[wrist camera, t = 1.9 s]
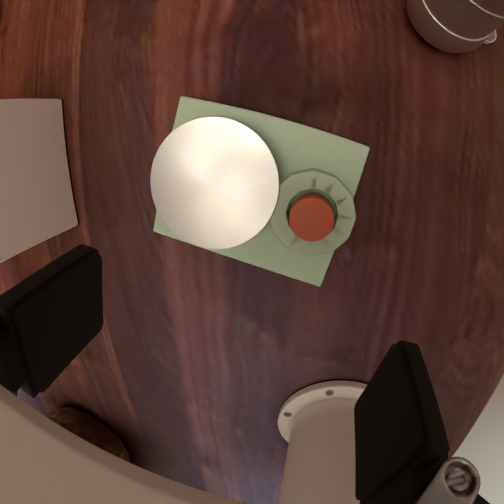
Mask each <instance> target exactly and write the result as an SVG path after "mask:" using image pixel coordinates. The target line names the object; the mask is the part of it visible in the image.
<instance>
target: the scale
mask: <svg viewBox="0 0 504 504" xmlns="http://www.w3.org/2000/svg"><path fill="white" fill-rule="evenodd" d="M207 116H219V117H226V118H230V119H233V120H236V121H239V122H241V123H243V124H245V125H247V126H248V127H250V128H251V129H253V130H254V131H255V132H256V133H257V134H258V135H260V137H261V138H262V139H263V140H264V141H265V142H266V144H267V145H268V147H269V148H270V150H271V152H272V154H273V156H274V158H275V161H276V164H277V167H278V172H279V179H280V190H279V197H278V202H277V205H276V208H275V210H274V213H273V215H272V216H271V218H270V220H269V222H268V223H267V224H266V226H265V227H264V228H263V229H262V230H261V231H260V232H259V233H258V234H257V235H256V236H255V237H253V238H252V239H250V240H249V241H247V242H245V243H243V244H241V245H238V246H236V247H232V248H227V249H207V248H204V249H207V250H210V251H213V252H216V253H219V254H222V255H225V256H228V257H231V258H234V259H237V260H240V261H243V262H246V263H249V264H252V265H255V266H258V267H261V268H264V269H267V270H270V271H273V272H276V273H279V274H282V275H285V276H288V277H291V278H294V279H297V280H300V281H303V282H306V283H309V284H312V285H316V286H319V287H320V286H321V284H322V282H323V279H324V277H325V274H326V272H327V269H328V267H329V264H330V261H331V259H332V256H333V254H334V251H335V249H337V248H338V247H339V246H340V245H341V244H343V243H344V242H345V241H346V240H348V238H349V236H350V234H351V231H352V228H353V226H354V223H355V220H356V212H355V207H354V202H353V199H354V196H355V193H356V190H357V187H358V184H359V181H360V178H361V175H362V172H363V169H364V166H365V163H366V159H367V156H368V153H369V150H370V147H368V146H366V145H363V144H360V143H357V142H355V141H352V140H349V139H346V138H343V137H340V136H337V135H334V134H331V133H328V132H325V131H322V130H319V129H316V128H313V127H309V126H306V125H303V124H299V123H296V122H292V121H289V120H285V119H282V118H278V117H274V116H271V115H267V114H263V113H259V112H255V111H251V110H247V109H243V108H238V107H234V106H229V105H225V104H220V103H215V102H210V101H205V100H200V99H195V98H189V97H184V96H181V97H180V101H179V105H178V109H177V113H176V118H175V122H174V126H173V130H172V131H174V130H175V129H176V128H177V127H179V126H181V125H182V124H184V123H186V122H188V121H190V120H193V119H197V118H200V117H207ZM307 193H317V194H320V195H322V196H324V197H325V198H326V199H327V200H328V201H329V202H330V204H331V206H332V209H333V213H334V225H333V228H332V230H331V232H330V233H329V234H328V235H327V236H326V237H325V238H323V239H321V240H319V241H305V240H303V239H301V238H299V237H298V236H296V235H295V234H294V232H293V231H292V229H291V227H290V224H289V215H290V211H291V209H292V206H293V204H294V202H295V201H296V200H297V199H298V198H299V197H300V196H302V195H304V194H307ZM153 231H154V232H157V233H160V234H163V235H166V236H169V237H171V238H174V239H177V240H180V241H183V242H186V243H188V242H187V241H185V240H183V239H181V238H180V237H179V236H177V235H176V234H175V233H174V232H173V231H172V230H171V229H169V227H168V226H167V225H166V224H165V223H164V221H163V220H162V218H161V217H160V215H159V213H158V211H156V217H155V224H154V230H153ZM189 244H190V243H189ZM192 245H193V244H192ZM201 248H202V247H201Z"/></svg>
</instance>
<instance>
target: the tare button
mask: <svg viewBox="0 0 504 504" xmlns="http://www.w3.org/2000/svg"><path fill="white" fill-rule="evenodd" d="M289 224H290V227H291V229H292V231H293V232H294V234H295V235H296V236H298V237H299V238H301V239H303V240H305V241H319V240H321V239H323V238H325V237H326V236H327V235H328V234H329V233H330V232H331V230H332V228H333V225H334V213H333V209H332V206H331V204H330V202H329V201H328V200H327V199H326V198H325V197H324V196H322V195H320V194H317V193H307V194H304V195H302V196H300V197H299V198H298V199H297V200H296V201H295V202H294V204H293V206H292V209H291V211H290V215H289Z"/></svg>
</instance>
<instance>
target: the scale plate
mask: <svg viewBox="0 0 504 504" xmlns="http://www.w3.org/2000/svg"><path fill="white" fill-rule="evenodd" d="M150 185H151V193H152V197H153V201H154V204H155V207H156V209H157V211H158V213H159V215H160V217H161V218H162V220H163V221H164V223H165V224H166V225H167V226H168V227H169V229H171V230H172V231H173V232H174V233H175V234H176V235H177V236H179V237H180V238H181V239H183V240H185V241H187V242H188V243H190V244H193V245H195V246H198V247H202V248H207V249H227V248H232V247H236V246H238V245H241V244H243V243H245V242H247V241H249V240H250V239H252V238H253V237H255V236H256V235H257V234H258V233H259V232H260V231H261V230H262V229H263V228H264V227H265V226H266V224H267V223H268V222H269V220H270V218H271V216H272V215H273V213H274V210H275V208H276V205H277V202H278V197H279V190H280V179H279V172H278V167H277V164H276V161H275V158H274V156H273V154H272V152H271V150H270V148H269V147H268V145H267V144H266V142H265V141H264V140H263V139H262V138H261V137H260V135H258V134H257V133H256V132H255V131H254V130H253V129H251V128H250V127H248V126H247V125H245V124H243V123H241V122H239V121H236V120H233V119H230V118H226V117H219V116H207V117H200V118H197V119H193V120H190V121H188V122H186V123H184V124H182V125H181V126H179V127H177V128H176V129H175V130H174V131H172V132H171V133H170V134H169V135H168V136H167V137H166V138H165V140H164V141H163V142H162V144H161V145H160V147H159V149H158V151H157V153H156V155H155V158H154V160H153V164H152V168H151V178H150Z"/></svg>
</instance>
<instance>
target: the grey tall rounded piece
mask: <svg viewBox="0 0 504 504" xmlns="http://www.w3.org/2000/svg"><path fill="white" fill-rule="evenodd" d="M407 12H408V16H409V19H410V21H411V23H412V25H413V27H414V28H415V30H416V31H417V32H418V33H419V35H420V36H421V37H422V38H423V39H424V40H425V41H426V42H428V43H429V44H431V45H432V46H433V47H435V48H437V49H439V50H442V51H445V52H448V53H463V52H469V51H472V50H475V49H476V48H478V47H479V46H480V45H481V44H483V43H484V42H485V41H486V39H487V38H488V37H489V36H490V34H491V33H492V32H493V31H494V30H495V29H497V28H498V27H499V26H501V25H502V24H503V23H504V0H407Z"/></svg>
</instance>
